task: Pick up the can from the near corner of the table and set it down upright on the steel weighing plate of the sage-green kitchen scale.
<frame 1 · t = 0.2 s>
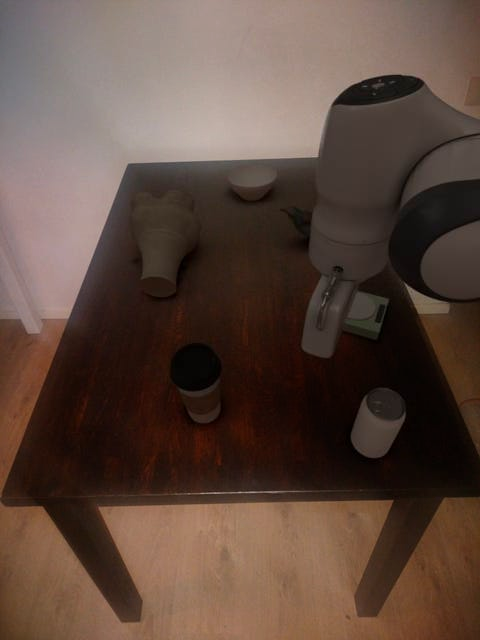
hand: (333, 327, 53), 23 cm above the table, tool pointing down, fingers open, 8 cm apart
can: (369, 441, 65), on the table
bird figurine: (317, 244, 105), on the table
scale: (356, 316, 86), on the table
vase: (164, 273, 100), on the table
coffee cup: (204, 409, 71), on the table
bowl: (252, 195, 125), on the table
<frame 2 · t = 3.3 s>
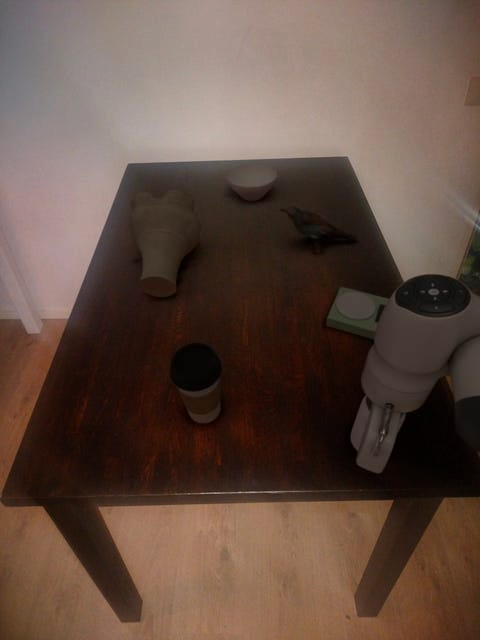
hand: (374, 427, 62), 5 cm above the table, tool pointing down, fingers closed on can, 6 cm apart
can: (369, 441, 65), on the table, touching gripper
everything else where it was.
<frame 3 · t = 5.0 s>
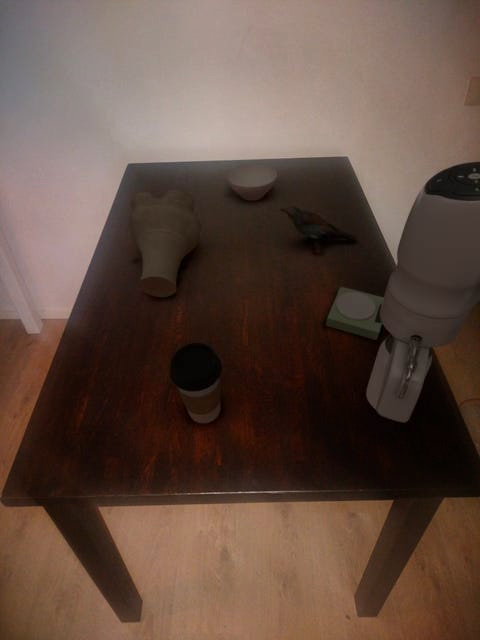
hand: (395, 379, 54), 17 cm above the table, tool pointing down, fingers closed on can, 6 cm apart
can: (387, 398, 57), point 12 cm above the table, touching gripper
everything else where it was.
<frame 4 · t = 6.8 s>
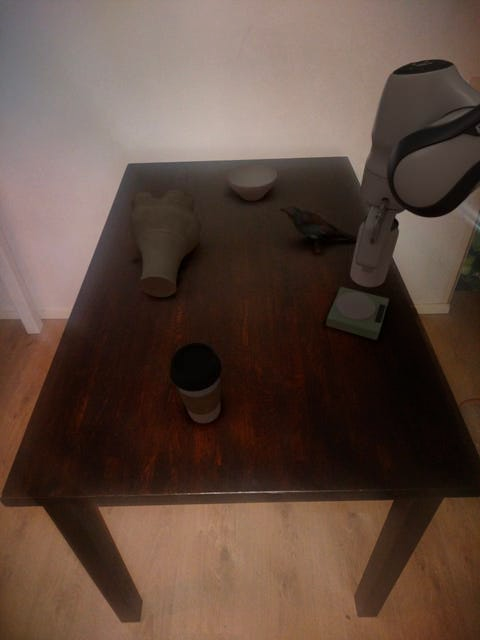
hand: (372, 257, 69), 19 cm above the table, tool pointing down, fingers closed on can, 6 cm apart
can: (366, 278, 72), point 15 cm above the table, touching gripper
everything else where it was.
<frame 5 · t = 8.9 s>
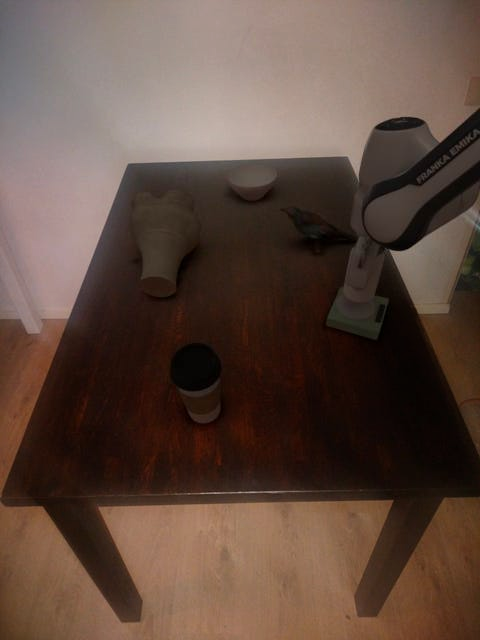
hand: (362, 276, 78), 11 cm above the table, tool pointing down, fingers closed on can, 6 cm apart
can: (358, 294, 81), point 6 cm above the table, touching gripper
everything else where it was.
when the fingers open (8 cm above the table, at t = 10.4 s): can stays where it is, resting on scale.
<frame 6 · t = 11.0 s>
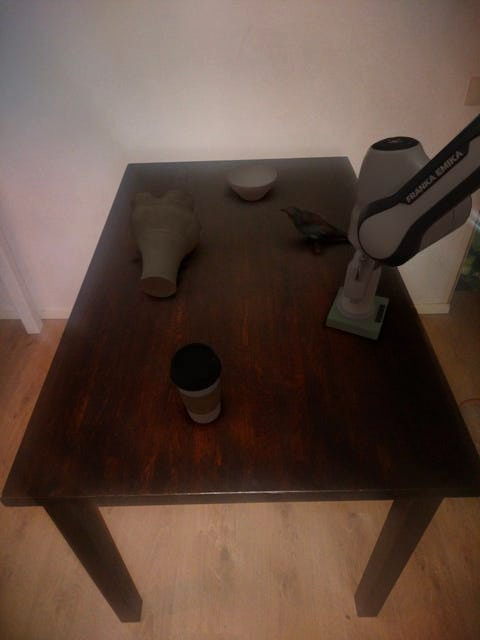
hand: (360, 287, 80), 8 cm above the table, tool pointing down, fingers open, 8 cm apart
can: (355, 306, 84), point 3 cm above the table, touching scale
everything else where it was.
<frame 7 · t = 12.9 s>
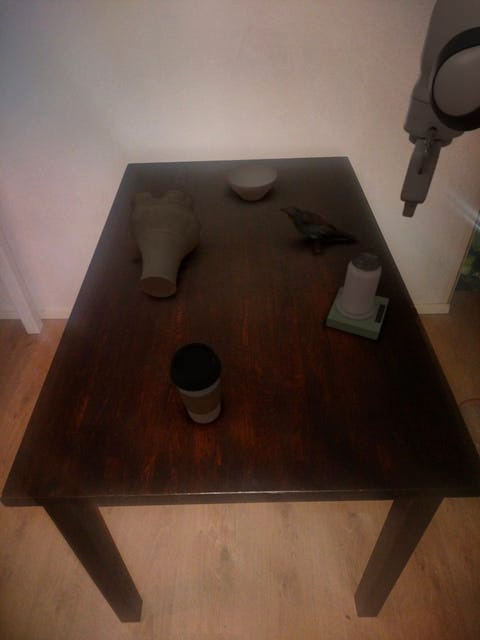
hand: (411, 201, 67), 27 cm above the table, tool pointing down, fingers open, 8 cm apart
nothing on the table moved.
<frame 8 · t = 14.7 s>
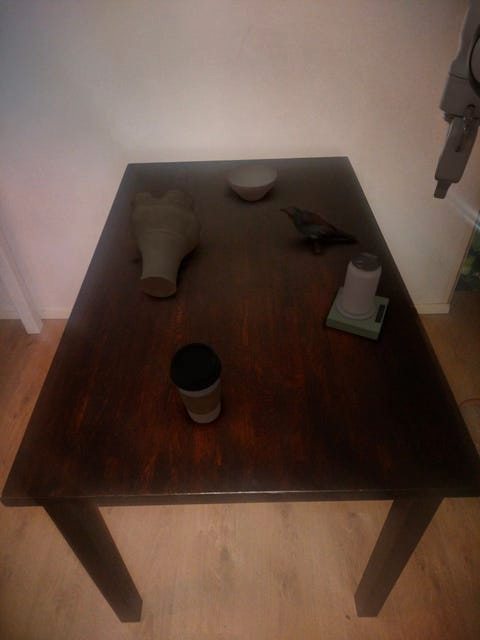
hand: (441, 183, 67), 29 cm above the table, tool pointing down, fingers open, 8 cm apart
nothing on the table moved.
at the end: can inside the target area on the scale (0.1 cm from its centre), point 2.9 cm above the scale's base; can tilted 0°; the gripper is holding nothing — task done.
